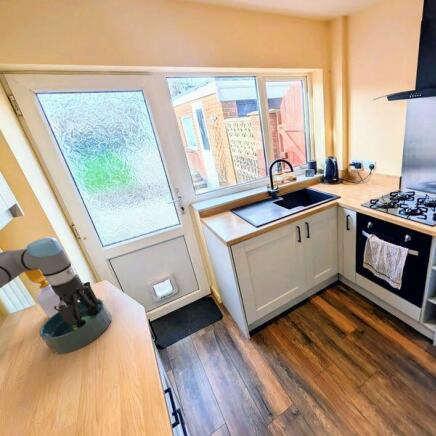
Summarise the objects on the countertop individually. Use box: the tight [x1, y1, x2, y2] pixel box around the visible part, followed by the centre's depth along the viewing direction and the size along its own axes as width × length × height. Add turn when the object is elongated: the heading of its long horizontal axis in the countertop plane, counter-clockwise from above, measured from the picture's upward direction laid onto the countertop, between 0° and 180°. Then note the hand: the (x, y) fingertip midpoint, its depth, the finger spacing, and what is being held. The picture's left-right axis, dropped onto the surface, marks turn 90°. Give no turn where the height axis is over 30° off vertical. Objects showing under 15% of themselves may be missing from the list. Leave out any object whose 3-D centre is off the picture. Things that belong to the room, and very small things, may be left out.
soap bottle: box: [24, 269, 67, 319], centre depth 104 cm, size 9×9×25 cm
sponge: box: [72, 315, 96, 330], centre depth 95 cm, size 7×4×4 cm, turn 89°
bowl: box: [39, 298, 112, 354], centre depth 95 cm, size 19×19×8 cm
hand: (93, 327), depth 95 cm, fingers closed on sponge, 4 cm apart
